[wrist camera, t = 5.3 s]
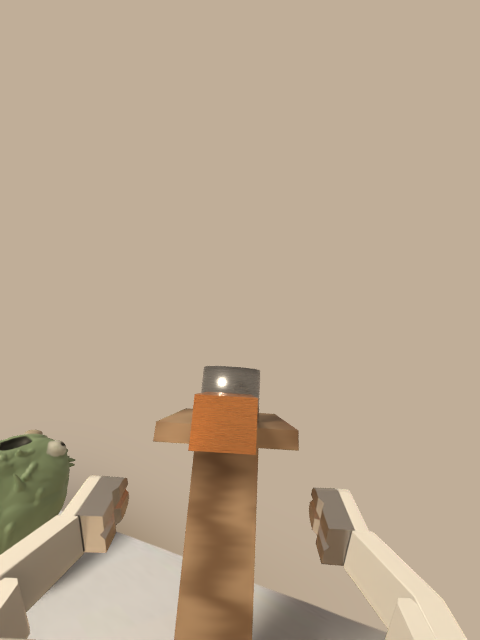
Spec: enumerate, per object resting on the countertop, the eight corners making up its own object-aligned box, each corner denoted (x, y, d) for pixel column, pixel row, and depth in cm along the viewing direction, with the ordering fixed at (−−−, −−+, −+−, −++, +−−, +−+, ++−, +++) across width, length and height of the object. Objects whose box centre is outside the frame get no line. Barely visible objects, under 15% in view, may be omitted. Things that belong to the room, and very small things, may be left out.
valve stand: (289, 687, 23) (289, 414, 31) (343, 985, 12) (322, 432, 19) (133, 678, 23) (171, 407, 30) (32, 968, 12) (132, 420, 19)
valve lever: (255, 417, 26) (257, 372, 27) (281, 456, 11) (282, 356, 13) (203, 414, 26) (207, 369, 27) (162, 449, 11) (176, 350, 13)
